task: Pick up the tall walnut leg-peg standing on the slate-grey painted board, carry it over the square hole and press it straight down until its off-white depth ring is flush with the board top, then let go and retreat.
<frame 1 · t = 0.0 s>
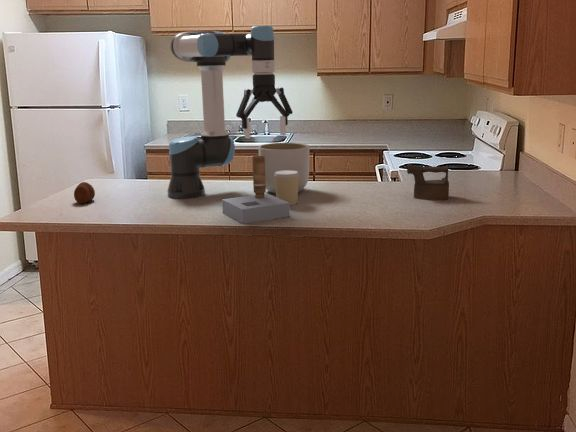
hand: (265, 136, 219), 28 cm above the worktop, fingers open, 13 cm apart
board: (255, 214, 228), on the worktop
potato: (84, 202, 254), on the worktop
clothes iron: (428, 198, 248), on the worktop
coffee cup: (287, 203, 244), on the worktop
peg: (259, 197, 232), point 5 cm above the worktop, touching board
planter: (284, 191, 265), on the worktop
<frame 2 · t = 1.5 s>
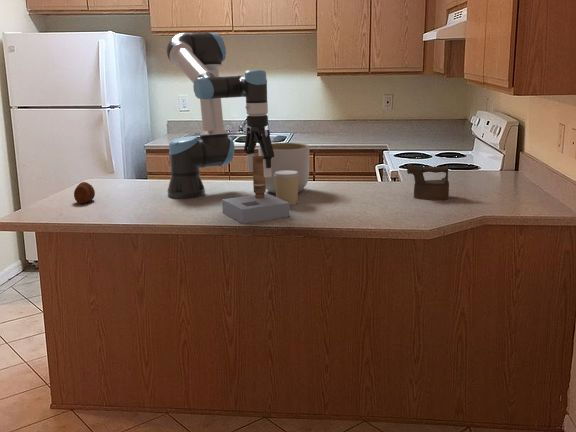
hand: (259, 174, 230), 14 cm above the worktop, fingers open, 13 cm apart
nothing on the worktop moved.
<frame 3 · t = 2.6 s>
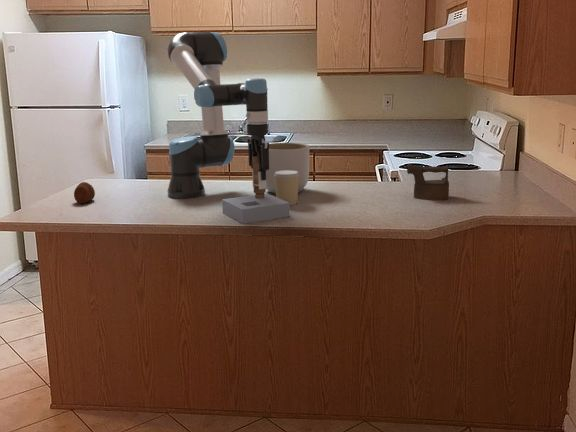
hand: (259, 187, 231), 9 cm above the worktop, fingers closed on peg, 4 cm apart
peg: (259, 197, 232), point 5 cm above the worktop, touching board, gripper
everything else where it was.
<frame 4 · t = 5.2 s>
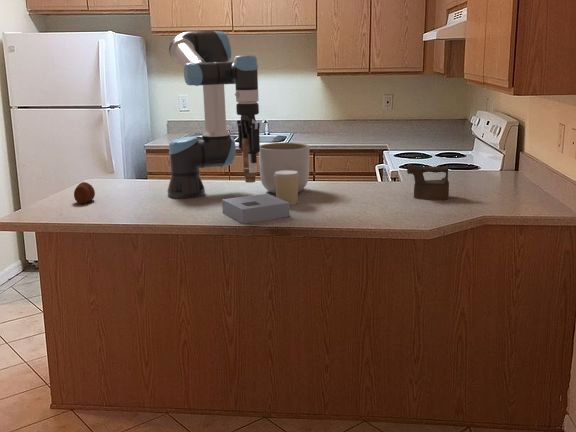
hand: (250, 171, 219), 17 cm above the worktop, fingers closed on peg, 4 cm apart
peg: (250, 181, 220), point 13 cm above the worktop, touching gripper
everything else where it was.
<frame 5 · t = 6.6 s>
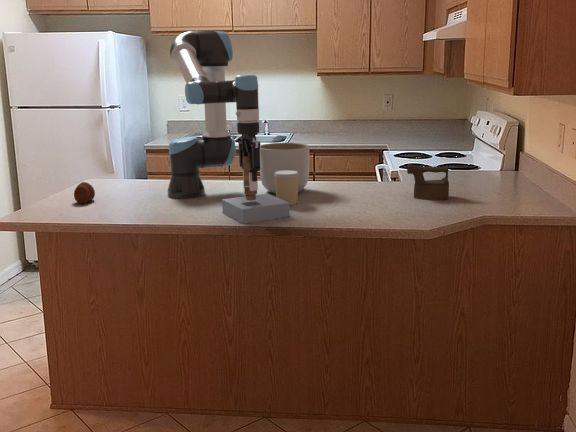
hand: (250, 188, 221), 10 cm above the worktop, fingers closed on peg, 4 cm apart
peg: (251, 199, 222), point 7 cm above the worktop, touching gripper
everything else where it was.
when the fingers open (6 cm above the worktop, at t = 7.7 s): peg drops 3 cm, resting in board.
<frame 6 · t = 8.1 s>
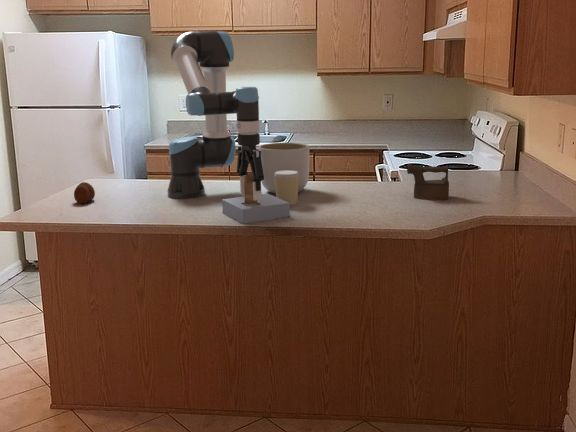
hand: (250, 196, 222), 7 cm above the worktop, fingers open, 10 cm apart
peg: (251, 217, 224), resting in board
everything else where it was.
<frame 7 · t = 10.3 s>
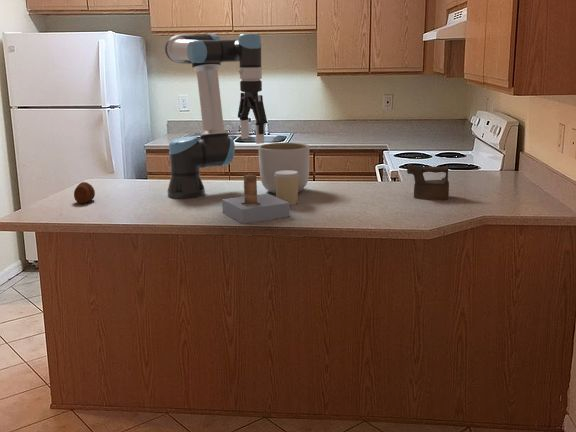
hand: (252, 140, 226), 26 cm above the worktop, fingers open, 13 cm apart
nothing on the worktop moved.
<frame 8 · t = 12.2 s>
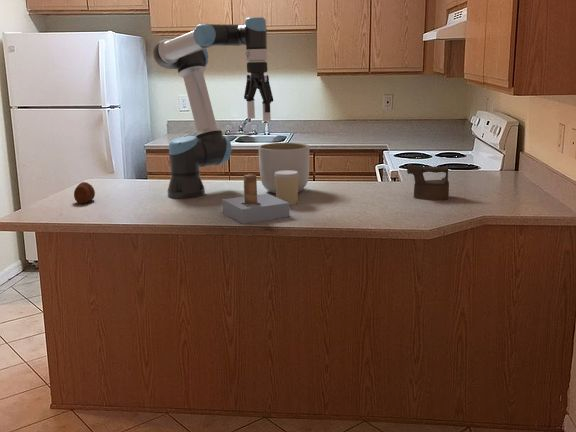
hand: (258, 120, 238), 32 cm above the worktop, fingers open, 13 cm apart
nothing on the worktop moved.
at the end: peg 0.1 cm from the target spot on the board, point 0.0 cm above the board's base; peg tilted 0°; the gripper is holding nothing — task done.
